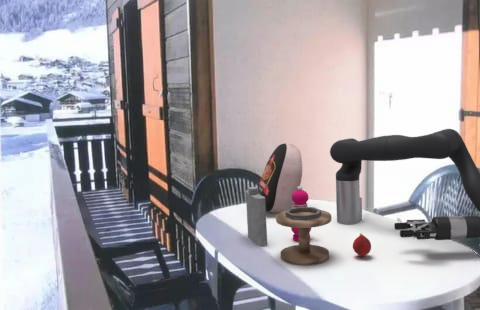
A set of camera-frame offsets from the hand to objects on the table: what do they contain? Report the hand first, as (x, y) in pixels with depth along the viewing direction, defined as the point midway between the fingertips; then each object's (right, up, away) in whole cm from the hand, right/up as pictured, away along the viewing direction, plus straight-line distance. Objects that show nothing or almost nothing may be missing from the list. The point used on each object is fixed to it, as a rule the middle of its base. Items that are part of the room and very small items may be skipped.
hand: (397, 230), depth 177 cm
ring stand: (-29, -10, +6) cm, 31 cm away
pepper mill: (-28, -7, +24) cm, 37 cm away
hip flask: (-45, -8, +26) cm, 52 cm away
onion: (-11, -9, +2) cm, 15 cm away
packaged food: (-33, -1, +65) cm, 72 cm away
